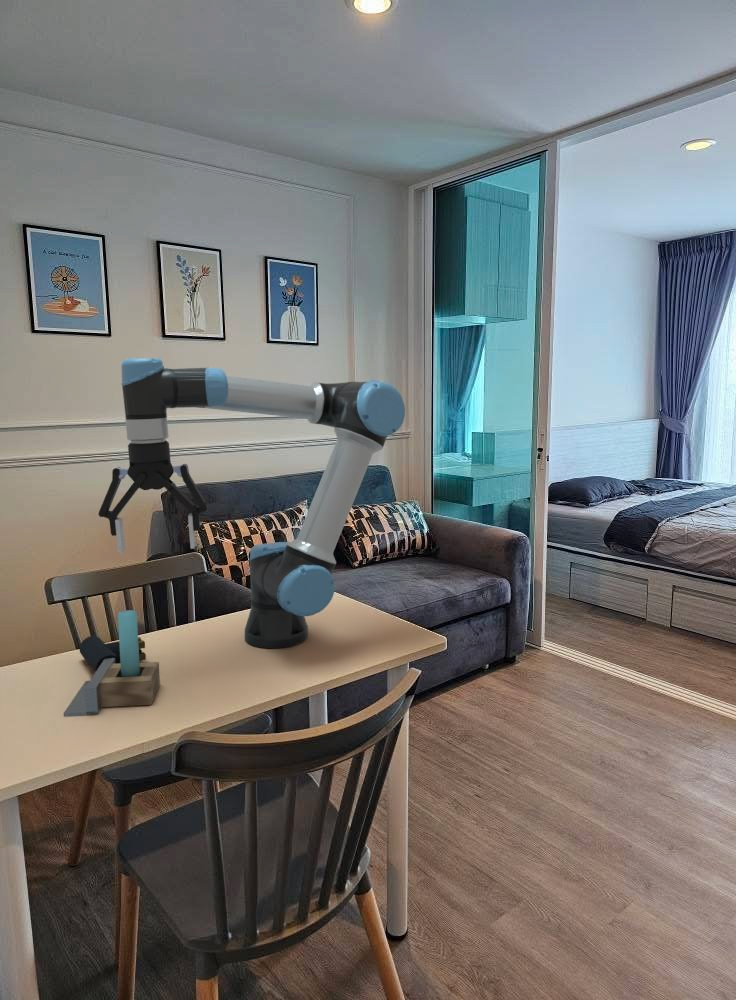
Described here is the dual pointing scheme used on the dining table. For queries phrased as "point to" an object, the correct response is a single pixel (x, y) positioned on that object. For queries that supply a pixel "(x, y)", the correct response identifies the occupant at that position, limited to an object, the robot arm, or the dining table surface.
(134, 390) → the robot arm
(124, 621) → the dowel
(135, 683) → the socket block
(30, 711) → the dining table surface
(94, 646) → the pipe connector
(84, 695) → the grey wedge ramp
